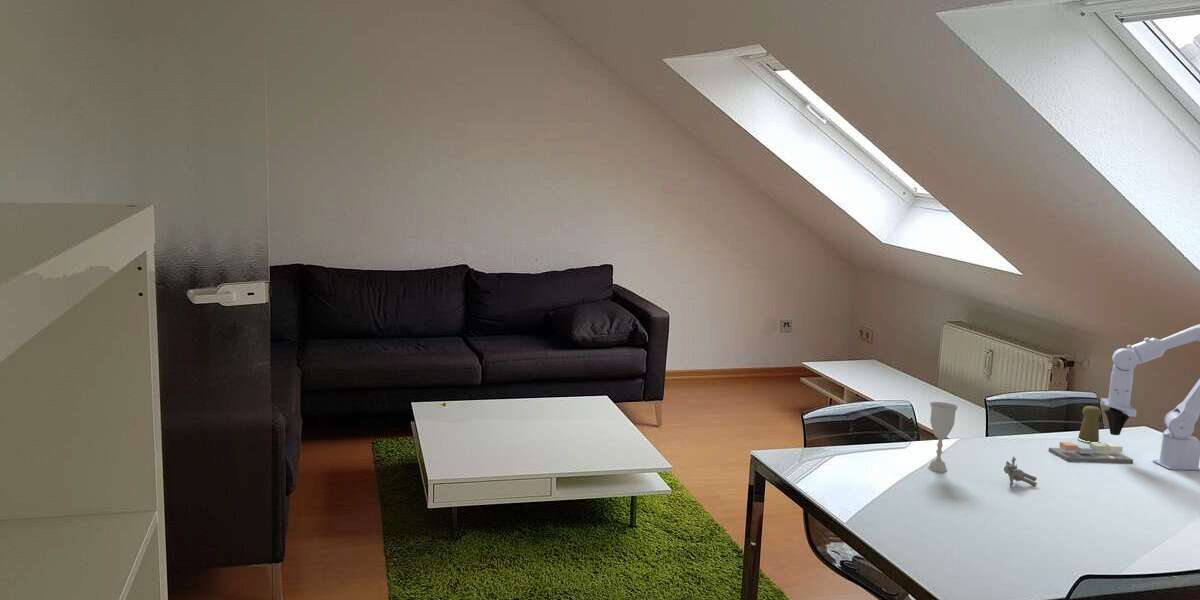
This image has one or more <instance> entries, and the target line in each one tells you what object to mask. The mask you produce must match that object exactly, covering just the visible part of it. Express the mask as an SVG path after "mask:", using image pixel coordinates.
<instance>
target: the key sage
mask: <svg viewBox="0 0 1200 600" xmlns="http://www.w3.org/2000/svg"><path fill="white" fill-rule="evenodd" d="M1088 447H1090V448H1092V450H1094V451H1101V452H1107V447H1108V446H1106V445H1105V443H1104V444H1103V443H1101V442H1099V443H1089V445H1088Z"/></svg>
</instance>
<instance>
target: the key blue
mask: <svg viewBox="0 0 1200 600" xmlns="http://www.w3.org/2000/svg"><path fill="white" fill-rule="evenodd" d="M1076 445H1077V451H1076V452H1078V453H1080V454H1092V448H1090V447H1089V445H1085V444H1082V445H1081V444H1076Z"/></svg>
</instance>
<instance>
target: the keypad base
mask: <svg viewBox="0 0 1200 600" xmlns="http://www.w3.org/2000/svg"><path fill="white" fill-rule="evenodd" d="M1050 451H1051V452H1052V453H1051V452H1050ZM1048 452H1050V453H1051V454H1053V453H1054V454H1053V455H1055V454H1056V455H1055V456H1057V457H1058V456H1059V458H1060V457H1061V458H1060V459H1062V460H1064V461H1066V462H1083V461H1090V463H1117V464H1118V463H1119V464H1120V463H1124V464H1125V463H1126V464H1133V462H1134V459H1133V458H1131V457H1129V456H1126V454H1123V453H1122V452H1110V451H1108V450H1107V452H1101V451H1094V450H1092V454H1080V453H1078V452H1076V451H1066V450H1064V449H1062V448H1060V447H1048Z"/></svg>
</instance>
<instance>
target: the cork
mask: <svg viewBox="0 0 1200 600" xmlns="http://www.w3.org/2000/svg"><path fill="white" fill-rule="evenodd" d="M1082 415H1083V419H1082V421H1081V426H1080V430H1079V434H1078V437H1077V439H1078V438H1080V439H1082V440H1085V441H1090V442H1098V441H1099V442H1100V432H1099V431H1100V429H1099V428H1100V427H1099V426H1100V425H1099V419H1100V417H1101V415H1102V410H1101V408H1099V407H1097V406H1094V405H1086V406H1083V409H1082Z"/></svg>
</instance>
